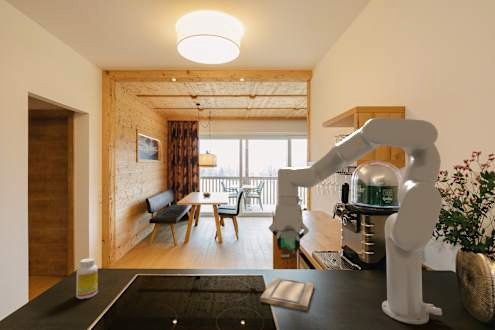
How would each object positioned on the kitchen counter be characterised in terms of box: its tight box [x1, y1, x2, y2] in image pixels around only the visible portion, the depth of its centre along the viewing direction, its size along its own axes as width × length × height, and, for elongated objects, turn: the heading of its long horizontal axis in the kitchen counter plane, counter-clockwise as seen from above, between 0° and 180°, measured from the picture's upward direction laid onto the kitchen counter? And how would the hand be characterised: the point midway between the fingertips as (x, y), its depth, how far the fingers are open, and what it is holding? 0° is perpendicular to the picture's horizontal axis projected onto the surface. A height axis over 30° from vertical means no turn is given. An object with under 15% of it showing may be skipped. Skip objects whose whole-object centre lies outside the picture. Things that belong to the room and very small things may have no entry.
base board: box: [259, 277, 315, 311], centre depth 93 cm, size 16×18×2 cm
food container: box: [280, 230, 300, 260], centre depth 93 cm, size 12×6×10 cm, turn 168°
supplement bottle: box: [75, 257, 99, 300], centre depth 93 cm, size 7×7×13 cm
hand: (288, 249), depth 93 cm, fingers closed on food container, 5 cm apart
